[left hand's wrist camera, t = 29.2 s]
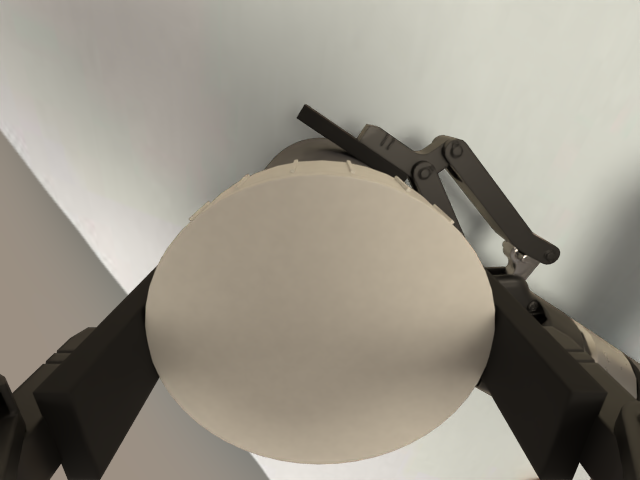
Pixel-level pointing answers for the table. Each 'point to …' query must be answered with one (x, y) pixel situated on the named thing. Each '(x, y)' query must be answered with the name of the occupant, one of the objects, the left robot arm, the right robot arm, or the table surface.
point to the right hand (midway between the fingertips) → (255, 190)
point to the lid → (320, 314)
